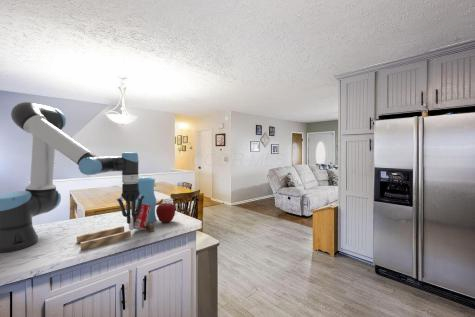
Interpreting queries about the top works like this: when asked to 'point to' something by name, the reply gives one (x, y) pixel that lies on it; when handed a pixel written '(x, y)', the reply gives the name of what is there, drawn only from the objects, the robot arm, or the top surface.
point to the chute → (102, 237)
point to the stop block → (150, 227)
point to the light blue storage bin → (148, 195)
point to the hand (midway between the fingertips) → (131, 229)
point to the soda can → (142, 217)
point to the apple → (165, 212)
